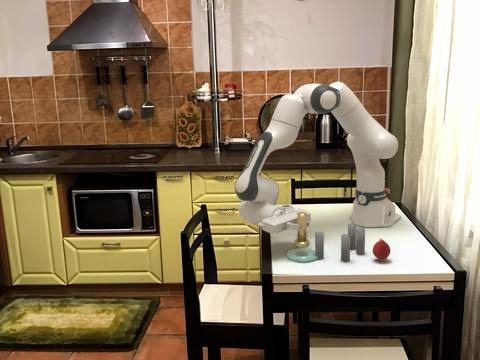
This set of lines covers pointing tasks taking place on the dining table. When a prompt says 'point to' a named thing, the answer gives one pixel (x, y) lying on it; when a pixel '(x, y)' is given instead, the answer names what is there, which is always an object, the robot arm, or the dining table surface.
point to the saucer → (302, 255)
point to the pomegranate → (381, 250)
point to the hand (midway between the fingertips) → (304, 225)
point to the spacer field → (343, 243)
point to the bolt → (302, 231)
